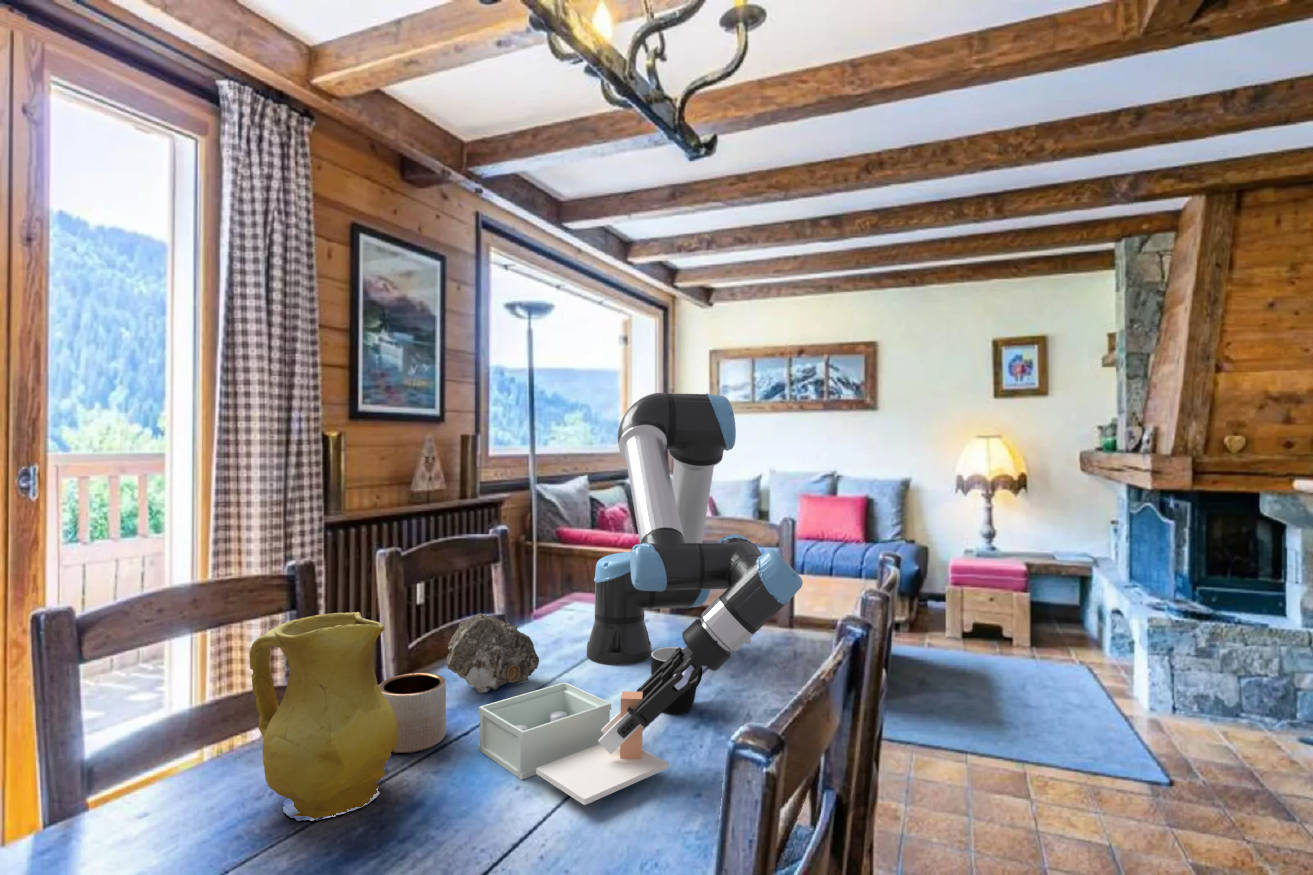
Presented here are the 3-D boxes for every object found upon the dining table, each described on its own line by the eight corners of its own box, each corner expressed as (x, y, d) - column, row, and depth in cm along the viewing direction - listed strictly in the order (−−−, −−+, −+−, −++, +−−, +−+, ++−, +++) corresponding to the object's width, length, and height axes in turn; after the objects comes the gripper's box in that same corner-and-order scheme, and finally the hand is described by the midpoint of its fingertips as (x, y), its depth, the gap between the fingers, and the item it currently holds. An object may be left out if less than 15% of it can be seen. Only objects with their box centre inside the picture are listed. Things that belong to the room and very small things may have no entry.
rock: (493, 612, 133) (474, 583, 146) (437, 671, 130) (423, 636, 143) (555, 662, 141) (532, 630, 154) (504, 719, 138) (485, 682, 151)
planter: (459, 732, 118) (459, 676, 118) (417, 760, 108) (418, 699, 108) (406, 723, 122) (407, 668, 122) (361, 749, 112) (362, 690, 112)
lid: (618, 742, 111) (619, 681, 111) (668, 768, 103) (669, 702, 103) (536, 773, 101) (536, 706, 101) (584, 805, 92) (585, 731, 92)
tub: (564, 721, 123) (565, 682, 123) (610, 745, 114) (611, 703, 114) (478, 750, 112) (478, 706, 112) (521, 780, 102) (522, 732, 102)
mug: (674, 722, 124) (675, 665, 124) (640, 707, 130) (641, 653, 130) (718, 704, 132) (718, 651, 132) (683, 691, 138) (684, 641, 138)
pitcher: (309, 845, 85) (311, 638, 86) (230, 808, 94) (233, 623, 96) (423, 790, 99) (424, 613, 100) (344, 763, 109) (346, 602, 110)
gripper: (737, 670, 97) (618, 786, 97) (729, 637, 113) (627, 736, 114) (700, 632, 97) (581, 747, 98) (697, 604, 113) (595, 703, 114)
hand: (606, 741), depth 106 cm, fingers closed on lid, 3 cm apart
